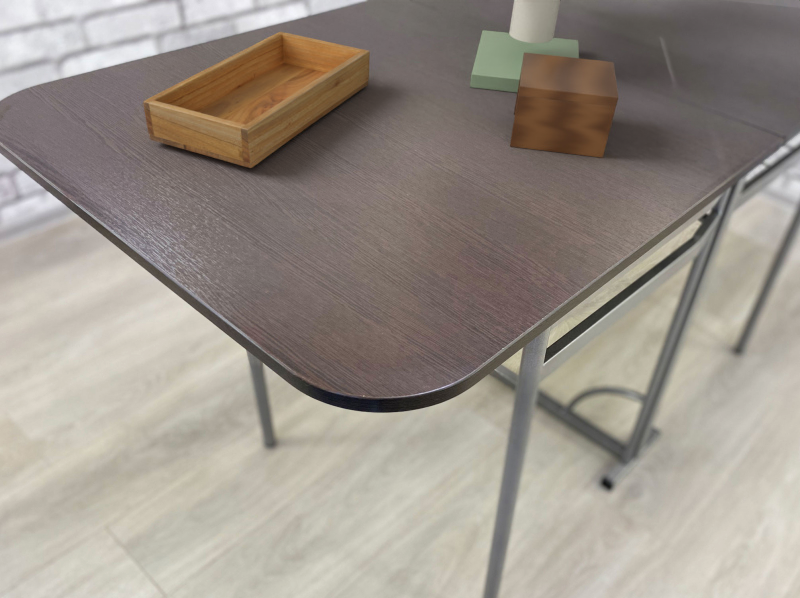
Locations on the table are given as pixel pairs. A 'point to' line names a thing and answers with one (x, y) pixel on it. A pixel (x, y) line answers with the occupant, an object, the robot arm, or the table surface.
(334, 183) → the table surface
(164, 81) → the table surface
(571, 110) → the wood grain cuboid
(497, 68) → the sage green flat slab
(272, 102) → the tray
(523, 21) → the cylinder
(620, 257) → the table surface
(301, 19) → the table surface
